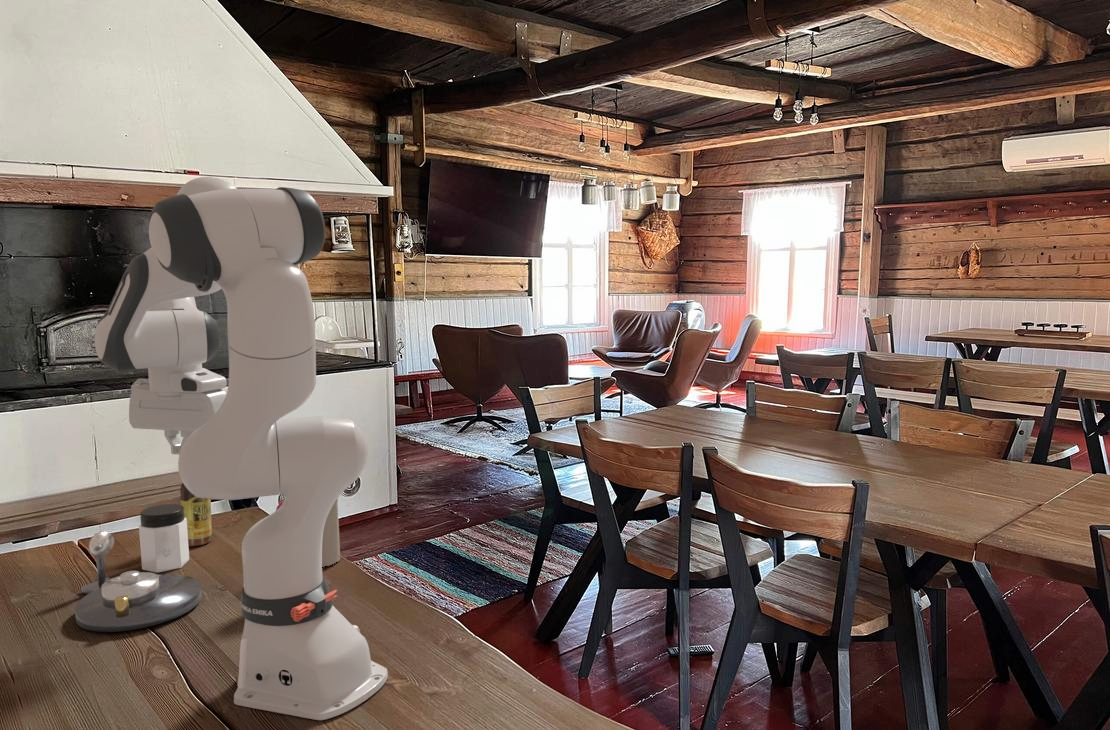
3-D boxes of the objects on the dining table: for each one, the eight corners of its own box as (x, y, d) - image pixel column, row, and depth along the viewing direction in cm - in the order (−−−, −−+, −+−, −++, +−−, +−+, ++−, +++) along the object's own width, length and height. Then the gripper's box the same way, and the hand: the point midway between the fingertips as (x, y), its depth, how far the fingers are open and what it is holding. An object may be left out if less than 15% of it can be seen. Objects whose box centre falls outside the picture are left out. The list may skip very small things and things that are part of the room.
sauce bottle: (197, 549, 169) (191, 461, 166) (175, 546, 171) (169, 459, 168) (219, 539, 175) (214, 454, 172) (198, 536, 177) (192, 453, 175)
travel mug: (314, 572, 155) (310, 486, 152) (293, 563, 160) (289, 479, 158) (347, 560, 161) (344, 477, 158) (326, 552, 166) (322, 471, 164)
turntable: (104, 588, 146) (102, 563, 145) (214, 580, 149) (212, 556, 149) (54, 636, 126) (51, 607, 126) (182, 626, 130) (180, 598, 129)
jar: (145, 576, 153) (140, 518, 152) (139, 564, 160) (135, 508, 159) (193, 566, 159) (189, 510, 157) (185, 554, 165) (182, 501, 164)
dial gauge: (130, 590, 147) (126, 531, 145) (104, 599, 142) (100, 539, 141) (107, 583, 150) (102, 525, 149) (81, 592, 146) (76, 533, 144)
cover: (162, 584, 143) (160, 561, 142) (156, 603, 134) (154, 579, 134) (107, 592, 139) (105, 568, 139) (98, 612, 131) (95, 587, 130)
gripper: (117, 380, 138) (122, 454, 140) (208, 383, 132) (213, 461, 134) (145, 376, 144) (150, 447, 146) (234, 378, 138) (238, 453, 140)
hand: (181, 454), depth 140 cm, fingers closed
